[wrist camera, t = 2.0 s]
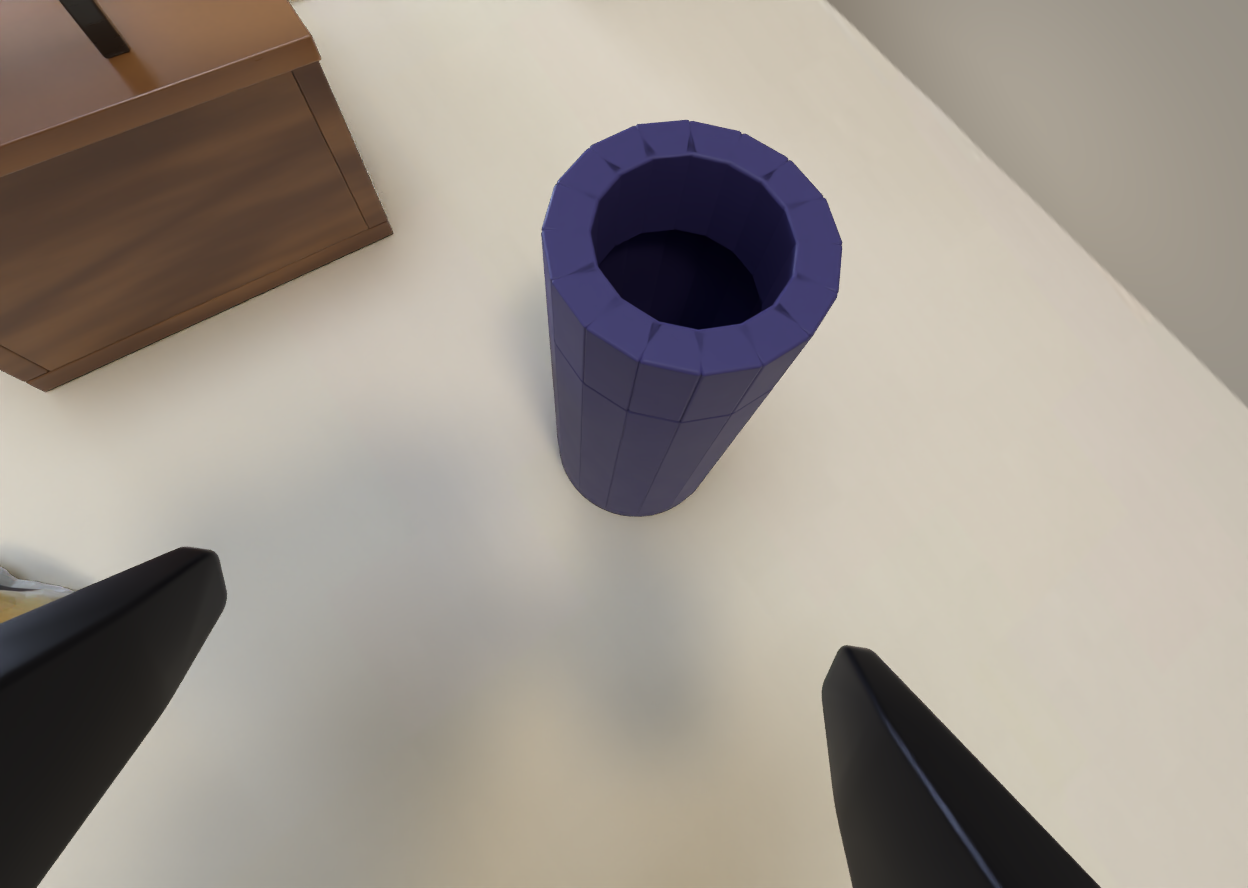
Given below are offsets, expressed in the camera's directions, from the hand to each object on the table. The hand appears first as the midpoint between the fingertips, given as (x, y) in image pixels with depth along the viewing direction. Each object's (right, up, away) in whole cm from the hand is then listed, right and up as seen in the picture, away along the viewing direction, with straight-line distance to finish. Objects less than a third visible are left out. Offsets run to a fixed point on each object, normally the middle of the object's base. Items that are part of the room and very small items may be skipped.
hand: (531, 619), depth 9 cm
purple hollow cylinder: (+2, +3, +16) cm, 16 cm away
